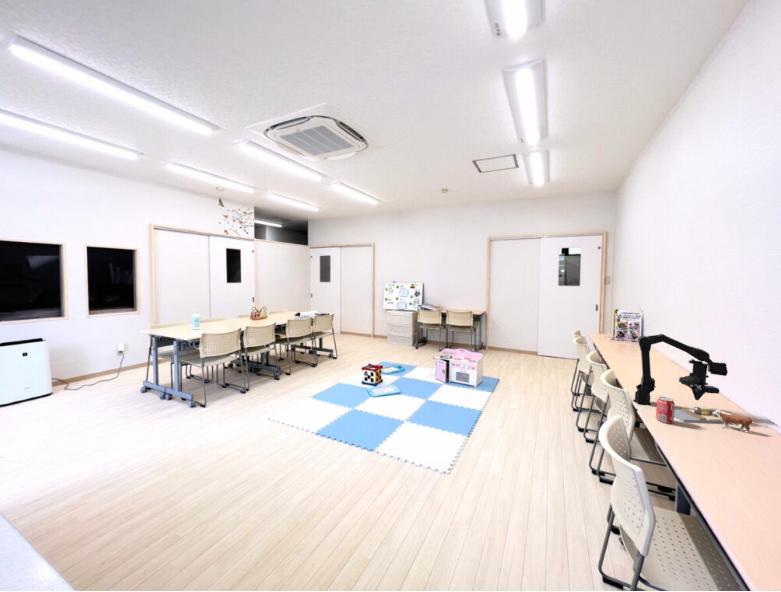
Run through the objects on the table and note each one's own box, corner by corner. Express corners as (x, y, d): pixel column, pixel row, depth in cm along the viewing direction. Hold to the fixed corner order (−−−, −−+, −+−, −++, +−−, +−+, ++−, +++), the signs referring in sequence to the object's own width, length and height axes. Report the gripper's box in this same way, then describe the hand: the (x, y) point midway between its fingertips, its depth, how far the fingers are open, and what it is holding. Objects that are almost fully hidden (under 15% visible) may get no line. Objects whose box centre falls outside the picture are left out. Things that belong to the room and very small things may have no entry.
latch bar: (696, 414, 171) (697, 408, 171) (692, 412, 173) (693, 406, 173) (721, 415, 170) (721, 409, 170) (717, 413, 172) (717, 407, 172)
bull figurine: (712, 422, 166) (713, 407, 166) (751, 432, 157) (752, 415, 156) (711, 425, 163) (713, 409, 163) (751, 435, 154) (753, 418, 153)
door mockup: (683, 422, 167) (684, 413, 167) (665, 412, 179) (665, 404, 179) (730, 423, 166) (731, 415, 165) (709, 413, 178) (709, 405, 177)
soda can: (670, 420, 169) (672, 397, 168) (675, 425, 163) (677, 402, 162) (653, 417, 172) (655, 395, 171) (658, 422, 166) (659, 399, 165)
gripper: (670, 366, 188) (668, 393, 189) (699, 377, 169) (696, 406, 170) (690, 367, 187) (688, 394, 188) (721, 378, 168) (718, 407, 170)
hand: (696, 400), depth 179 cm, fingers closed
